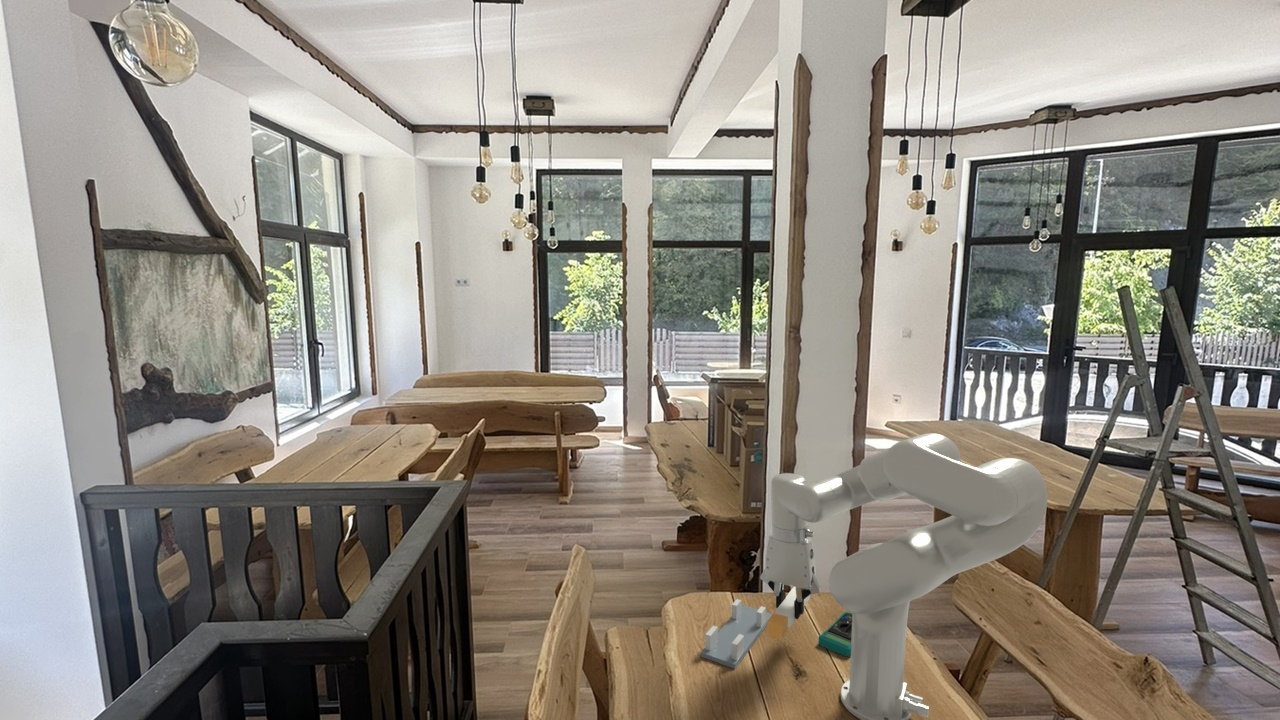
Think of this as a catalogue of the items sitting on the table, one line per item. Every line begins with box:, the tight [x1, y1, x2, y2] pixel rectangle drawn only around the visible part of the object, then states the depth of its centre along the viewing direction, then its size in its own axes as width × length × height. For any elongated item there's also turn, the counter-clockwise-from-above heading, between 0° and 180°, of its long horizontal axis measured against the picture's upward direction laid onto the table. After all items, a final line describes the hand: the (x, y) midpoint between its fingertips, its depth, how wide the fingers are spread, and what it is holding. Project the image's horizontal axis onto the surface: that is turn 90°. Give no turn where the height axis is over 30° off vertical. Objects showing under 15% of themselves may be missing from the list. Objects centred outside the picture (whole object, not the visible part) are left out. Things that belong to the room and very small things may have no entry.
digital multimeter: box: [818, 611, 853, 658], centre depth 134 cm, size 7×15×3 cm, turn 138°
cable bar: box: [766, 586, 811, 641], centre depth 127 cm, size 3×20×3 cm, turn 148°
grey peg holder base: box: [700, 598, 774, 670], centre depth 134 cm, size 8×23×4 cm, turn 148°
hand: (789, 613), depth 127 cm, fingers closed on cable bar, 3 cm apart
